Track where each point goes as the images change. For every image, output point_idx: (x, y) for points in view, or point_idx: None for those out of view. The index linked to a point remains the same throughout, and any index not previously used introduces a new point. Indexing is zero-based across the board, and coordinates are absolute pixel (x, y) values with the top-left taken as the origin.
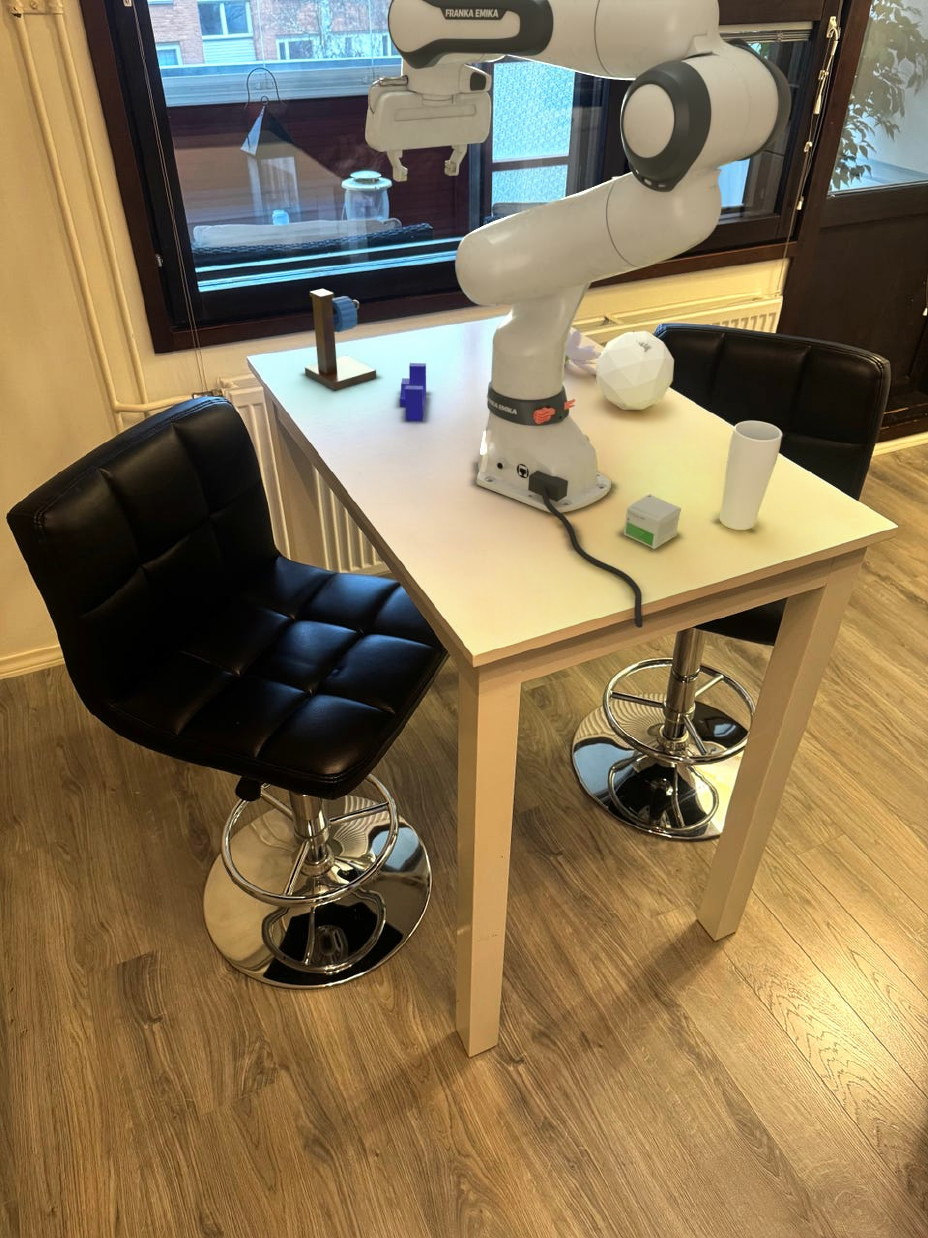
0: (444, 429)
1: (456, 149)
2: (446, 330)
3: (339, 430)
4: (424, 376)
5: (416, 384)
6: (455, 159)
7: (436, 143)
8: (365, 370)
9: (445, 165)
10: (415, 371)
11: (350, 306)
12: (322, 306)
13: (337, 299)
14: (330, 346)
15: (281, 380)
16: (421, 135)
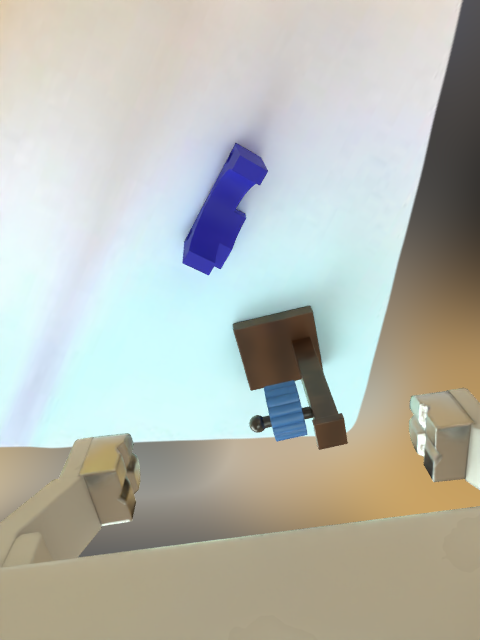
0: (214, 92)
1: (52, 560)
2: (62, 435)
3: (372, 171)
4: (192, 241)
5: (208, 237)
6: (74, 506)
7: (276, 545)
8: (249, 334)
9: (134, 497)
10: (206, 253)
11: (277, 408)
12: (334, 407)
13: (296, 426)
14: (308, 364)
15: (357, 361)
16: (473, 597)
